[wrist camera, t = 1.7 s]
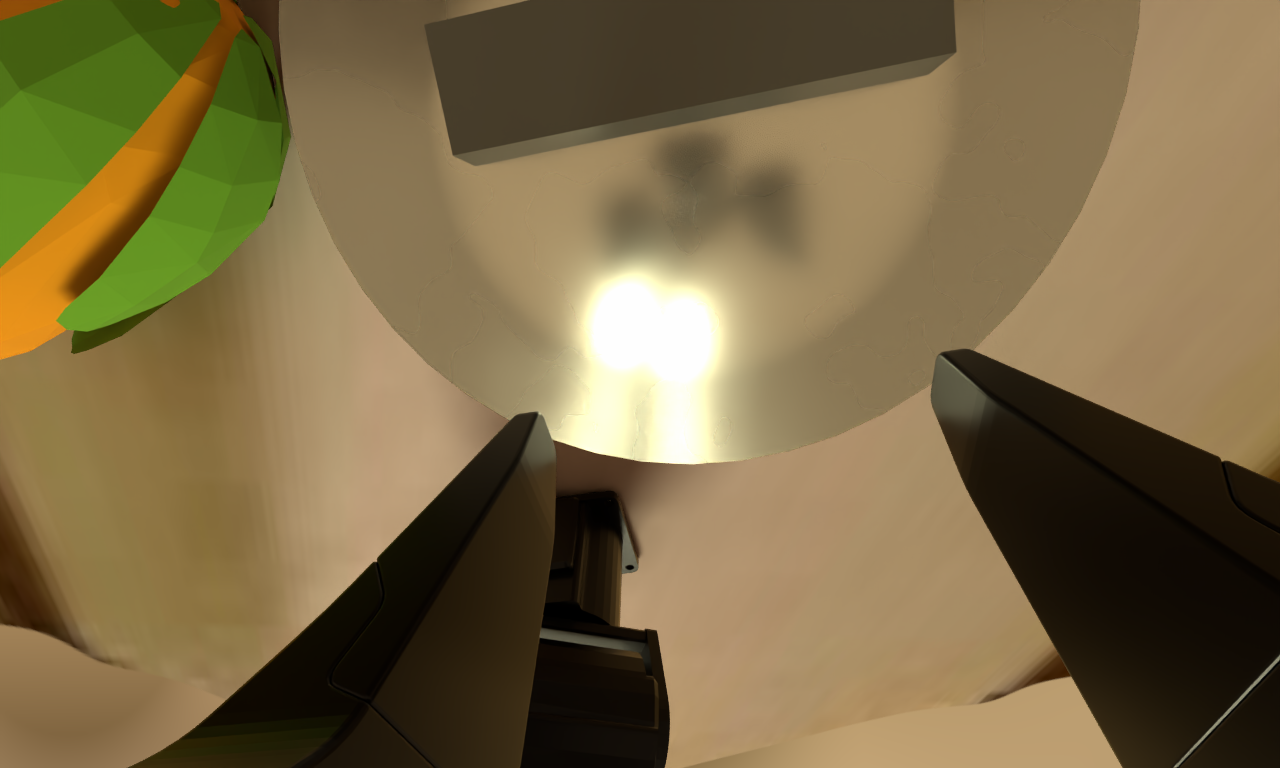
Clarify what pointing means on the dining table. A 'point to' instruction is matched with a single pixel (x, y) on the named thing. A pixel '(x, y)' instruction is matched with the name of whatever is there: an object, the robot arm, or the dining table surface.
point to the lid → (700, 195)
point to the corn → (127, 158)
